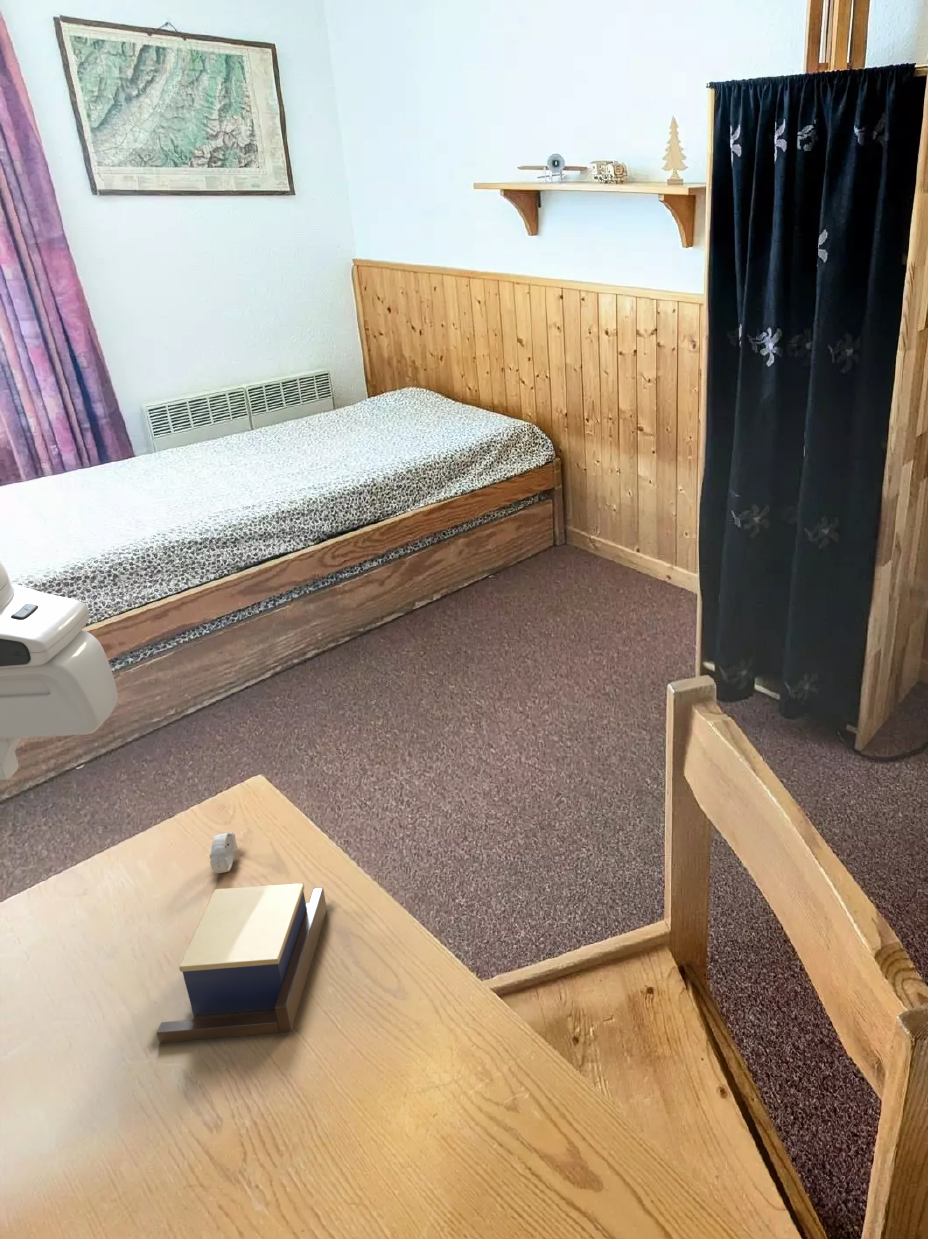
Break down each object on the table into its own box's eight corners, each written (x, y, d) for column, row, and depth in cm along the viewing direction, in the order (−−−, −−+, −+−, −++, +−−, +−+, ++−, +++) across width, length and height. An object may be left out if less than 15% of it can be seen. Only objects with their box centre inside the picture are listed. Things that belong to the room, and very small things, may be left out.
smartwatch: (232, 879, 87) (226, 849, 85) (210, 882, 86) (203, 852, 85) (239, 853, 90) (233, 824, 89) (218, 856, 90) (212, 827, 88)
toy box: (191, 1017, 73) (178, 966, 71) (225, 936, 80) (214, 888, 78) (287, 1009, 73) (277, 959, 71) (312, 929, 81) (303, 882, 79)
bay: (158, 1043, 70) (151, 1018, 69) (214, 918, 82) (208, 895, 81) (291, 1031, 72) (286, 1006, 70) (327, 909, 83) (323, 887, 82)
